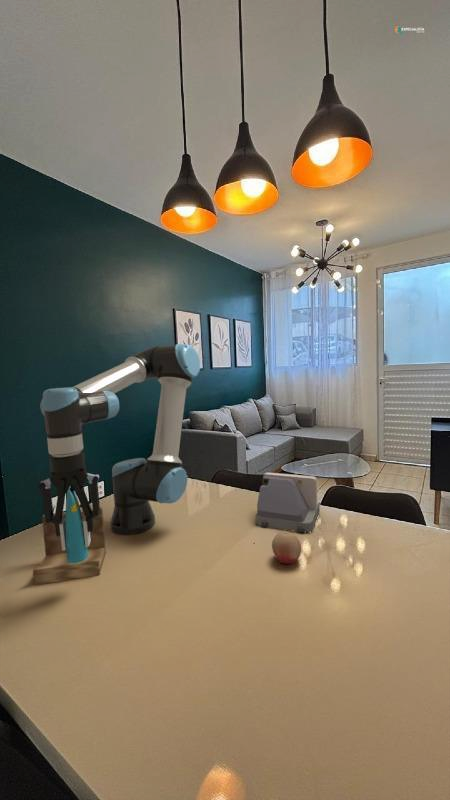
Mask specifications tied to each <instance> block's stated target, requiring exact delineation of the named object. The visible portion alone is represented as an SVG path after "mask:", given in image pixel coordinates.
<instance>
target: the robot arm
mask: <svg viewBox="0 0 450 800" xmlns="http://www.w3.org/2000/svg"><path fill="white" fill-rule="evenodd" d="M200 369H201V362H200V358H199V354H198V351H197V350H196V349H195V348H194V347H193V346H192V345H191V344H187V343H185V344H184V343H176V344H167V345H158V346H151V347H149V348H147V349H143V350H142V351H140V352H137V353H135V354H133V355H131V356H129V357H127V358H126V359H125V360H124V362H123V363H121V364H118V365H116V366H114V367H112V368H110V369H108V370H106V371H103V372H101V373H99V374H97V375H95V376H93V377H91V378H89V379H86V380H85V381H83V382H80V383H78V384H76V385H74V386H72V387H69V386H68V387H56V388H49V389H46V390H44V392H43V394H42V399H41V401H40V404H39V405H40V406H39V407H40V411H41V413H42V415H43V416H44V422H45V423H44V424H45V431H46V432H45V433H46V439H47V440H46V441H47V450H48V454H49V455H50V456H49V458H48V459H49V467H50V476H49V478H47V479H42V480H41V481H40V483H38V484H37V486H38V489H39V491H40V492H41V497H42V502H43V503H42V505H43V512H44V514H45V521H46V523H50V522H51V523H54V524H55V530H56V535H57V537H58V536H61V544H62V551H63V550H66V526H65V519H64V520H62V518H63V517H62V515H63V512H64V507H65V502H66V495H67V491H68V488H69V487H70V485H71V487H70V490H71V491H75V493H76V495H77V498H78V501H79V505H80V508H81V510H83V512H84V515H85V518H84V520H83V528H84V537H85V547H89V545H90V542H91V538H90V532H91V531H92V530H93V527H94V525H93V517H95V516H98V514H99V512H100V508H101V503H100V495H99V484H98V483H99V480H100V474H99V473H96V474H93V473H89V471H88V469H87V467H86V461H85V459H86V458H85V452H84V451H83V450H84V440H83V432H82V431H83V429H82V425H85V424H89V423H95V422H100V421H106V420H109V419H110V418H115V417H116V416H117V415H118V413H119V411H120V400H119V398H118V396H117V395H116V394H117V393H118V392H120V391H122V390H123V389H125V388H127V387H130V386H131V385H132V384H134V383H136V384H137V383H138V384H140V383H142V382H144V381H146V380H152V379H153V380H154V379H157V382H158V383H160V385H161V388H160V389H161V390H160V395H159V396H160V397H159V404H158V411H157V419H156V428H155V433H154V442H153V448H152V449H153V450H152V454H151V456H149V457H148V458H147V459H146V458H144V457H137V458H132V459H131V458H130V459H126V460H125V459H124V460H122V461H120V462H117V463H115V464H114V465H113V466H112V468H111V471H112V472H111V473H112V475H111V479H112V480H111V481H112V491H113V493H112V494H113V503H114V507H113V511H112V515H111V519H110V531H111V532H113V534H116V535H123V536H125V535H126V536H128V535H137V534H139V533H142V532H146V531H148V530H149V529H151V528H153V526H155V524H156V515H155V513H154V510H153V507H152V505H151V504H150V502H156V503H159V504H168V505H169V504H175V503H176V502H177V501H179V500H180V499H181V497H183V495H184V493H185V492H186V488H187V486H188V475H187V474H188V473H187V471H186V470H185V469H184V467H183V466H182V465H183V462H182V460H181V459H180V457H179V453H180V444H181V436H182V428H183V418H184V412H185V402H186V395H187V389H188V388H189V387H190V386H191V385H192V381H193V380H192V379H193V378H196V377H197V376H198V374H200ZM87 479H88V483H89V484H90V494H91V503H92V508H91V504H90V502H89V499H88V496H87V494H86V492H85V487H84V483H85V482H86V480H87ZM52 485H53V486H54V487H55V488H56V489H57V496H56V497H57V500H56V503H55V512H54V506H53V499H52V498H53V497H52V491H51V487H52ZM91 509H93V510H91ZM54 513H55V515H54Z"/></svg>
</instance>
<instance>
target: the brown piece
mask: <svg viewBox="0 0 450 800" xmlns="http://www.w3.org/2000/svg"><path fill="white" fill-rule="evenodd" d="M80 510H81V514H82V519H83V520H84V518H85V515H84V512H83V510H82V509H80ZM91 510H93V508H91ZM53 513H54V515H55V512H53ZM62 517H63V518H62V520H64V519H65V517H66V511H63V515H62ZM41 520H42V529H43V532H42V533H43V541H44V552H45V556H44V558H43V559H42V561H41V563H40V564H39V565H38V567H34V568H33V569H32V574H33V585H34V586H37V585H42V584H49V583H50V584H51V583H56V582H63V581H69V580H75V579H81V578H87V577H88V578H89V577H94V576H100V575H101V571H102V568H103V564H104V561H105V557H106V554H107V551H106V550H107V549H106V539H105V538H106V537H105V527H104V524H105V523H104V514H103V507H100V512H99V514H98V516H95V517H93V525H94V527H93V530H92V531H91V532H90V538H91V542H90V545H89V547H87V548H88V557H87V558H86V559H85V560H84V561H82V562H79V563H68V562H67V552H66V550H63V551H62V544H61V536H58V537H57V535H56V530H55V524H54V523H51V522H50V523H46V521H45V513H44V514H43V515H42V516H41Z"/></svg>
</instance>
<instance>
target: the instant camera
mask: <svg viewBox="0 0 450 800" xmlns="http://www.w3.org/2000/svg"><path fill="white" fill-rule="evenodd" d="M262 477H263V478H262V480H261V482H262V485H260V487H259V492H258V493H259V494H258V497H257V498H258V499H257V504H256V506H257V507H256V509H257V511H256V514H255V523H256V524H257V525H256V526H259V527H264V526H265V528H270V527H272V528H271V529H276V528H279V529H278V530H282V529H286V530H285V531H288V530H294V531H293V532H295V531H299V532H298V533H301V532H310V531H312V530H313V531H314V529H313V527H314V525H315V526H316V524H315V522H316V520H317V521H318V519H317V517H318V515H319V516H320V514H319V512H320V509H321V508H320V506H321V505H320V503H321V501H320V500H319V499H318V484H317V483H318V479H317V477H316V476H311V475H302V474H300V475H299V474H289V473H281V472H280V473H278V472H277V473H276V472H265V473H264V474H263V476H262ZM318 518H319V517H318ZM316 523H317V522H316ZM314 528H315V527H314ZM313 531H312V532H313Z"/></svg>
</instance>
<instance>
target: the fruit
mask: <svg viewBox="0 0 450 800" xmlns="http://www.w3.org/2000/svg"><path fill="white" fill-rule="evenodd" d="M271 550H272V553H273V554H274V556H275V558H276V559H277V560H278V561H279V562H281V563H282V564H285V565H290V564H293V563H296V561H297V560H298V559H299V557H300V556H301V552H302V545H301V542H300V539H299V537H298V536H297V535H296V534H294V533H290V532H288V531H285V530H282V531H278V532H277V533H276V534H275V535H274V537H273V539H272V542H271Z"/></svg>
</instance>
